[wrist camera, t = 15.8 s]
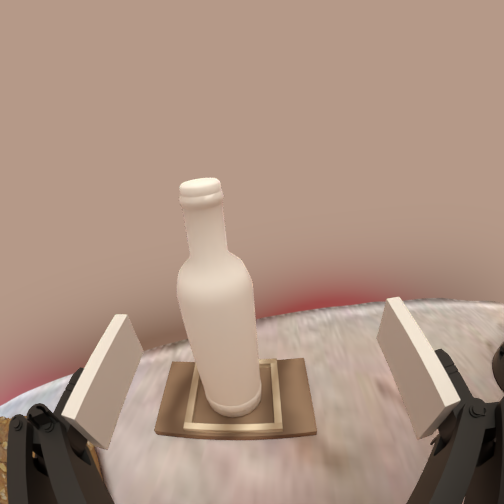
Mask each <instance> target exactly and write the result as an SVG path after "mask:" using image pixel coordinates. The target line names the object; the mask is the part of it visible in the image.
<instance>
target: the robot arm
mask: <svg viewBox="0 0 504 504" xmlns="http://www.w3.org/2000/svg"><path fill="white" fill-rule="evenodd" d="M377 341H378V343H379V345H380V347H381V349H382V352H383V354H384V356H385V358H386V361H387V363H388V365H389V368H390V370H391V372H392V375H393V377H394V380H395V382H396V384H397V387H398V389H399V392H400V394H401V397H402V399H403V402H404V405H405V407H406V410H407V412H408V415H409V418H410V421H411V423H412V426H413V429H414V432H415V435H416V437H417V440H419V439H421V438H424V437H427V436H429V435H432V434H433V433H434V432H435V430H436V429H437V428H438V430H439V434H438V435H437V436H436V437H435V438H434V439H433V440H432V442H431V444H430V445H432V444H433V443H434V442H435V441H436V442H435V444H434V447H433V449H432V452H431V454H430V457H429V459H428V461H427V464H426V466H425V468H424V470H423V473H422V475H421V477H420V479H419V481H418V483H417V485H416V487H415V489H414V491H413V493H412V494H411V496H410V498H409V500H408V502H407V503H406V504H462V502H463V499H464V497H465V500H464V504H504V397H503V398H502V399H501V401H500V402H494V403H485V402H484V401H483V400H481V399H479V398H474V397H473V396H472V394H471V393H470V391H469V389H468V387H467V385H466V383H465V382H464V380H463V378H462V376H461V375H460V373H459V372H458V369H457V368H456V366H454V363H453V361H452V359H451V358H450V356H449V355H448V354H447V353H446V352H445V351H443V350H442V349H438V350H435V351H434V350H433V349H432V347H431V345H430V344H429V342H428V340H427V339H426V337H425V335H424V334H423V332H422V331H421V329H420V327H419V326H418V324H417V323H416V321H415V320H414V318H413V317H412V315H411V314H410V312H409V310H408V309H407V307H406V306H405V304H404V303H403V302H402V300H401V299H400V297H395V298H389V299H386V303H385V308H384V312H383V316H382V320H381V324H380V328H379V332H378V335H377ZM143 352H144V351H143V349H142V347H141V345H140V342H139V340H138V338H137V336H136V334H135V332H134V329H133V327H132V324H131V322H130V320H129V317H128V315H122V314H116V315H115V316H114V318H113V319H112V321H111V323H110V324H109V326H108V328H107V329H106V331H105V333H104V335H103V336H102V338H101V340H100V341H99V343H98V345H97V347H96V348H95V350H94V352H93V354H92V355H91V357H90V359H89V361H88V363H87V365H86V366H85V368H79V369H78V370H77V371H76V372H75V373H74V374H73V376H72V377H71V379H70V381H69V384H68V385H67V387H66V390H65V391H64V393H63V395H62V397H61V398H60V400H59V402H58V404H57V407H56V409H55V411H54V412H53V413H52V412H51V411H50V410H49V409H48V408H47V407H46V406H45V405H44V404H41V403H39V404H35V405H33V406H32V407H31V408H30V409H29V411H28V413H27V418H26V417H24V416H23V415H21V414H18V415H15V416H14V417H13V418H12V419H11V421H10V424H9V431H8V442H7V494H8V504H114V502H113V500H112V498H111V496H110V494H109V492H108V490H107V488H106V486H105V484H104V482H103V480H102V478H101V476H100V474H99V471H98V469H97V467H96V464H95V462H94V460H93V457H92V455H91V452H90V449H89V448H88V446H87V445H86V444H87V441H89V442H90V443H91V444H93V445H94V446H96V447H99V448H102V449H106V450H108V447H109V444H110V441H111V438H112V435H113V432H114V429H115V426H116V423H117V420H118V418H119V415H120V412H121V409H122V406H123V404H124V401H125V398H126V395H127V393H128V390H129V388H130V385H131V382H132V380H133V377H134V375H135V372H136V369H137V367H138V364H139V362H140V359H141V357H142V355H143ZM493 372H494V375H495V378H496V380H497V382H498V384H499V386H500V387H501V388H502V390H503V391H504V342H503V343H502V344H501V345H500V347H499V348H498V350H497V352H496V354H495V355H494V358H493ZM33 452H34V453H35V457H33Z"/></svg>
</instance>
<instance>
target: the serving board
mask: <svg viewBox="0 0 504 504" xmlns="http://www.w3.org/2000/svg"><path fill="white" fill-rule="evenodd" d="M259 370H260V380H261V401H260V403H259V405H258V407H257V408H255V409H254V410H253V411H252V412H251V413H249V414H246V415H244V416H242V417H227V416H222V415H221V414H219V413H217V412H215V411H214V410H213V408H212V407H211V406H210V404H209V401H208V400H207V398H206V394H205V390H204V387H203V384H202V381H201V378H200V375H199V372H198V369H197V365H196V362H172V364H171V368H170V371H169V375H168V379H167V382H166V386H165V390H164V394H163V398H162V401H161V405H160V409H159V413H158V417H157V421H156V425H155V429H154V431H155V432H156V434H158V435H166V436H175V437H184V438H197V439H215V440H259V439H278V438H290V437H300V436H309V435H316V433H317V428H316V422H315V416H314V410H313V405H312V399H311V393H310V388H309V383H308V377H307V372H306V367H305V361H304V358H298V359H286V360H277V358H276V359H259Z"/></svg>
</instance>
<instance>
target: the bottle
mask: <svg viewBox="0 0 504 504" xmlns="http://www.w3.org/2000/svg"><path fill="white" fill-rule="evenodd" d="M179 189H180V197H179V201H180V205H181V207H182V210H183V216H184V223H185V229H186V235H187V241H188V246H189V252H190V257H189V258H188V259H187V260H186V262H185V263H184V264H183V265H182V267H181V268H180V270H179V273H178V279H177V288H176V292H177V299H178V303H179V307H180V310H181V314H182V318H183V322H184V325H185V329H186V332H187V336H188V339H189V343H190V346H191V349H192V353H193V356H194V359H195V362H196V365H197V369H198V372H199V375H200V378H201V381H202V384H203V387H204V390H205V394H206V398H207V400H208V401H209V404H210V406H211V407H212V408H213V410H214V411H215V412H217V413H219V414H221V415H222V416H227V417H242V416H244V415H246V414H249V413H251V412H252V411H253V410H254V409H255V408H257V407H258V405H259V403H260V401H261V380H260V370H259V357H258V345H257V332H256V319H255V306H254V295H253V282H252V280H251V277H250V275H249V273H248V271H247V269H246V267H245V265H244V263H243V262H242V260H241V259H240V258H238V257H237V256H235V255H234V254H232V253H231V252H229V251H228V248H227V239H226V230H225V220H224V211H223V199H224V194H223V192H222V190H221V182H220V181H219V180H218V179H216V178H200V179H194V180H190V181H186V182H183V183H182V184H181V185H180V187H179Z"/></svg>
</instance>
